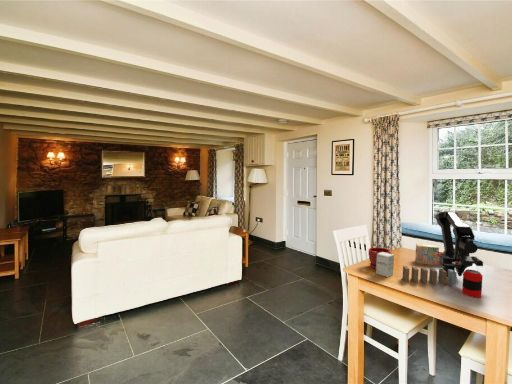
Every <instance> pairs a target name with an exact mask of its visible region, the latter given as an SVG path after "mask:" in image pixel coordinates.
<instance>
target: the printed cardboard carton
mask: <svg viewBox="0 0 512 384" xmlns="http://www.w3.org/2000/svg"><path fill="white" fill-rule="evenodd" d="M443 252H444V249H440V247H439V246H438V245H435V244H434V245H433V244H425V243H424V244H423V243H422V244H421V243H416V244H415V262H416V263H417V264H421V265H422V264H424V265H432V266H442V265H441V264H440V261H439V257H440V256H442V254H443ZM442 267H443V266H442Z"/></svg>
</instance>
